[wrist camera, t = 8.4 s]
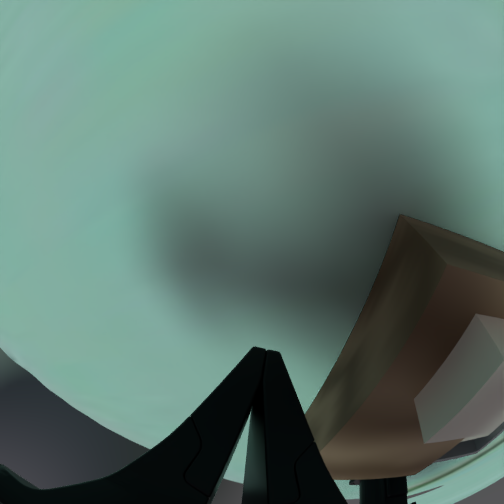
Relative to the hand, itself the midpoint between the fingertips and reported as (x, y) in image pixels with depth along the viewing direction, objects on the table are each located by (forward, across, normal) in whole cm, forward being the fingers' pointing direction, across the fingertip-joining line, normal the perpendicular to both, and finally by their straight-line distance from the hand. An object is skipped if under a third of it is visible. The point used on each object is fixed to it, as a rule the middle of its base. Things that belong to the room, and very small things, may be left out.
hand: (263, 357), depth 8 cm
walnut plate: (+6, -10, +5) cm, 13 cm away
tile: (+1, -10, 0) cm, 10 cm away
